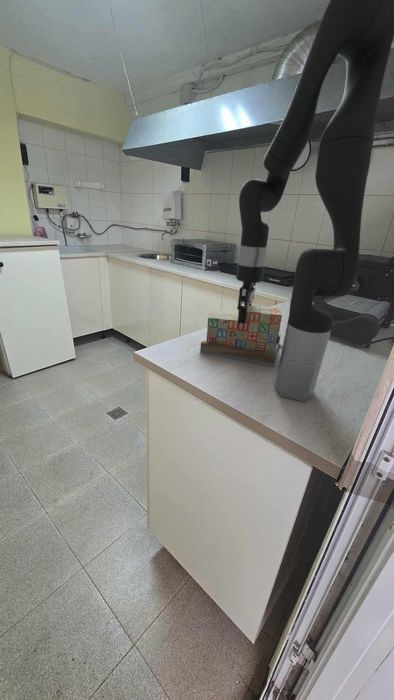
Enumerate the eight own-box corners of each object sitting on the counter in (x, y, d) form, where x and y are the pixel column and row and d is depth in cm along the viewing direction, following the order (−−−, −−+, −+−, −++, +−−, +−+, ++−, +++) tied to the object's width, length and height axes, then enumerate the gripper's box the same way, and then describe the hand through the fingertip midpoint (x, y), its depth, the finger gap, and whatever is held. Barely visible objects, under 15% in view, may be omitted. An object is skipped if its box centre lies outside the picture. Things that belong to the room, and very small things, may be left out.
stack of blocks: (205, 345, 89) (208, 307, 83) (207, 337, 94) (210, 301, 89) (275, 352, 86) (282, 314, 81) (273, 344, 92) (280, 307, 86)
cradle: (273, 367, 81) (275, 357, 79) (200, 351, 87) (200, 343, 85) (279, 343, 95) (280, 335, 94) (216, 331, 101) (216, 324, 100)
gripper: (261, 268, 72) (252, 328, 79) (267, 261, 84) (259, 313, 91) (232, 265, 74) (226, 324, 81) (242, 258, 86) (236, 310, 93)
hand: (244, 318), depth 86 cm, fingers open, 8 cm apart
